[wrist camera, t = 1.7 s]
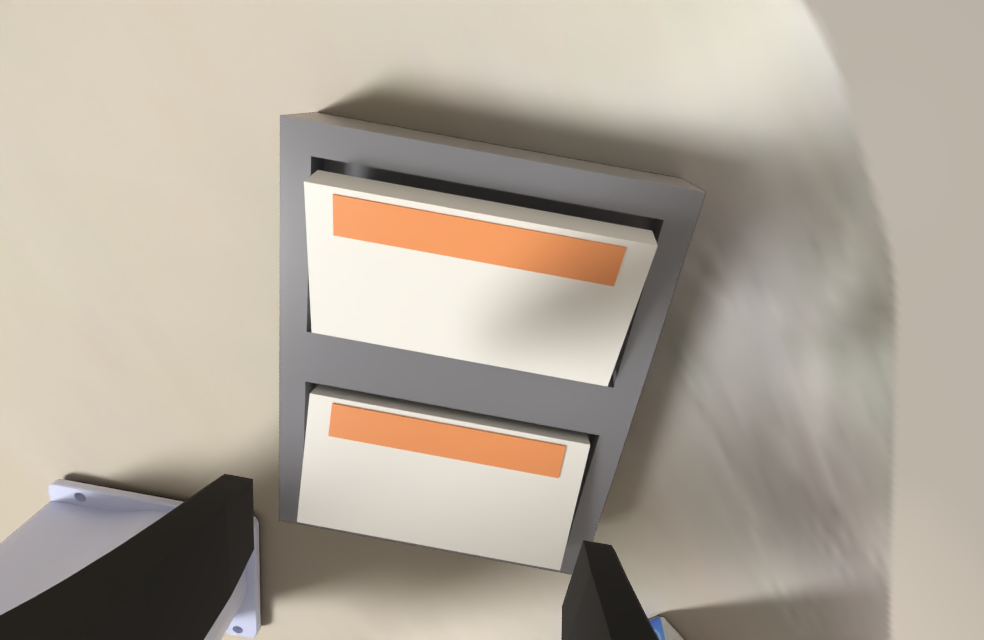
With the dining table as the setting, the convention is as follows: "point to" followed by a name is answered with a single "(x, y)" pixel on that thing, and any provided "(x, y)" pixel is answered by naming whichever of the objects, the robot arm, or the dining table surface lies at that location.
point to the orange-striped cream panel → (440, 476)
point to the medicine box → (664, 629)
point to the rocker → (471, 277)
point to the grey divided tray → (460, 382)
